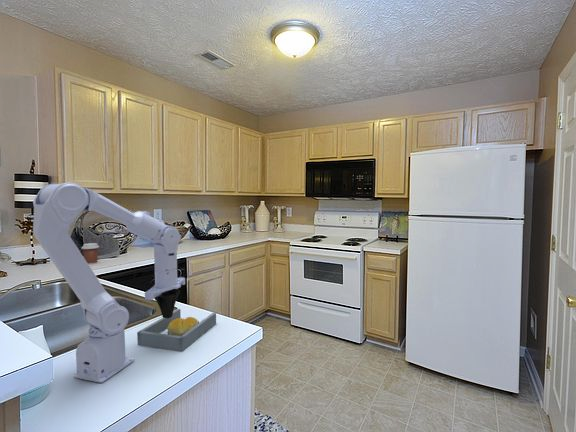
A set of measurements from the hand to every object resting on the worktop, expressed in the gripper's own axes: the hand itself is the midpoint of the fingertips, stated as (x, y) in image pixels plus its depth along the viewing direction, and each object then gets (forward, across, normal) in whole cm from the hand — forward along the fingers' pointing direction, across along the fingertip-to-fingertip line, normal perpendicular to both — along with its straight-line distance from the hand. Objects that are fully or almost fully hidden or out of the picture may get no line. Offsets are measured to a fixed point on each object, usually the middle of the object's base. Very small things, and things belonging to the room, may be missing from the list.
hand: (167, 317), depth 83 cm
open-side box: (+7, +5, 0) cm, 9 cm away
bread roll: (+8, +7, 0) cm, 11 cm away
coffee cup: (+7, +74, +110) cm, 133 cm away
